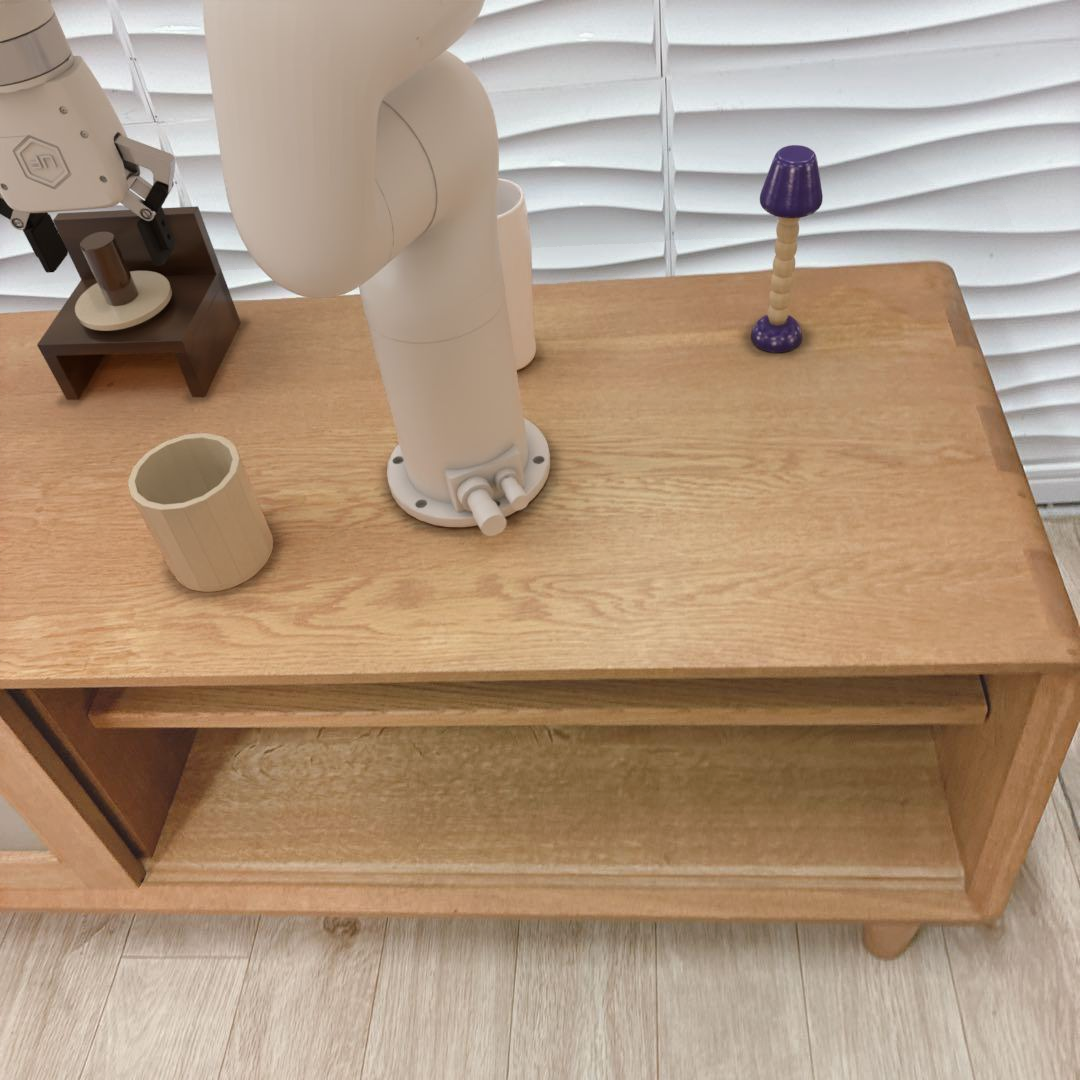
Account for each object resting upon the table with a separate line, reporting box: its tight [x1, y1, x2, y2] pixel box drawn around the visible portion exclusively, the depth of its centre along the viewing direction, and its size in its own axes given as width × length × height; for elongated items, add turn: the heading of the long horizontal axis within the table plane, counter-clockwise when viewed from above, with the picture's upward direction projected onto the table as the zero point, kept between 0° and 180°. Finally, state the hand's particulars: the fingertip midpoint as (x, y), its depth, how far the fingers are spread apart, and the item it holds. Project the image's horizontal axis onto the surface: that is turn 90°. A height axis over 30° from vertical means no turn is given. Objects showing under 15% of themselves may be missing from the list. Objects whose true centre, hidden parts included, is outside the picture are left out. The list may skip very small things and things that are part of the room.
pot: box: [127, 432, 274, 593], centre depth 77 cm, size 8×8×8 cm
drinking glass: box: [497, 177, 537, 371], centre depth 88 cm, size 7×7×15 cm
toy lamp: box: [750, 144, 823, 353], centre depth 85 cm, size 5×5×17 cm
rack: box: [36, 206, 241, 401], centre depth 94 cm, size 11×13×12 cm
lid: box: [75, 232, 172, 331], centre depth 91 cm, size 8×8×7 cm
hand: (111, 260), depth 90 cm, fingers open, 9 cm apart
